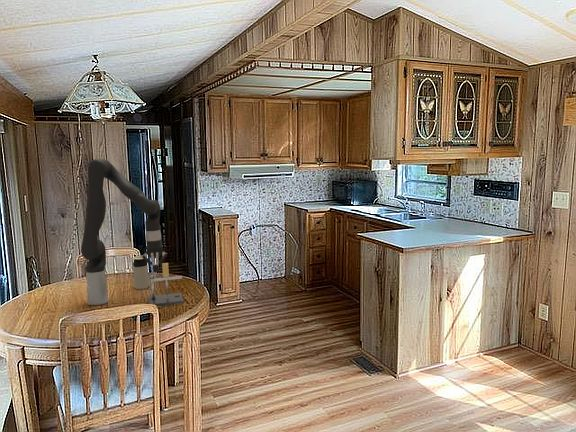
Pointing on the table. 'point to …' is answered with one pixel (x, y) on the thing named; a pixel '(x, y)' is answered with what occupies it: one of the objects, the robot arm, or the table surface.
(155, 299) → the bolt plate
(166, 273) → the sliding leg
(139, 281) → the travel mug
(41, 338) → the table surface
